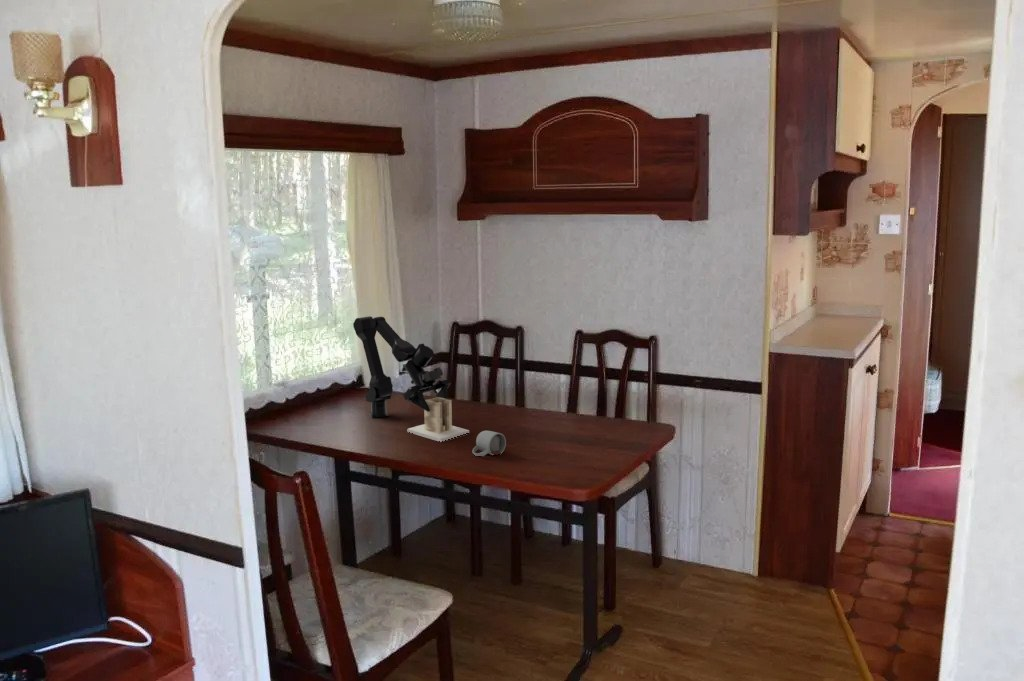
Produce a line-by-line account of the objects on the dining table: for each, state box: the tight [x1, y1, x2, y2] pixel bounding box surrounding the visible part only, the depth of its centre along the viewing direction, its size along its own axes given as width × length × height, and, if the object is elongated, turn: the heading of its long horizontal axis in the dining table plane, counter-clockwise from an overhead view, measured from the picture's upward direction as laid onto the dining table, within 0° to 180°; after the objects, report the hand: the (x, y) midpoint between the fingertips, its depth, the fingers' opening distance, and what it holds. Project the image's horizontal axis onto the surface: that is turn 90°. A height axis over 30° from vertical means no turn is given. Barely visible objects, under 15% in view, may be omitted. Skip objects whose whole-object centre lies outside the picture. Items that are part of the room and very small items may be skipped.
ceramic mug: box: [471, 430, 507, 457], centre depth 285 cm, size 11×8×8 cm
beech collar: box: [423, 396, 453, 434], centre depth 308 cm, size 7×7×11 cm
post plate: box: [406, 423, 470, 443], centre depth 309 cm, size 18×14×5 cm
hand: (438, 408), depth 308 cm, fingers open, 9 cm apart
